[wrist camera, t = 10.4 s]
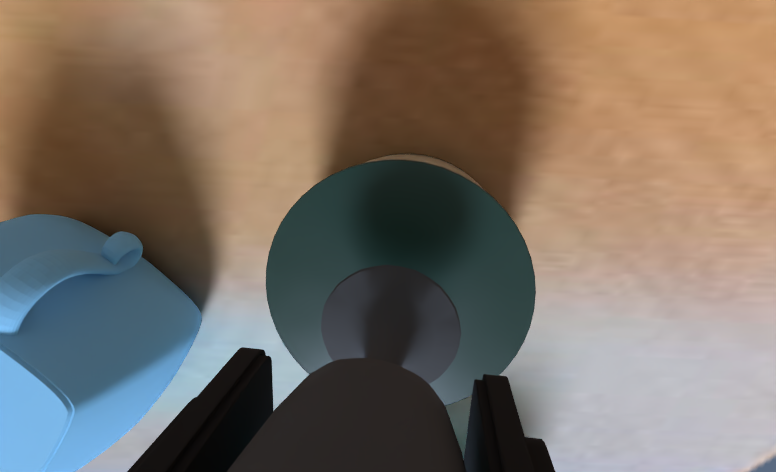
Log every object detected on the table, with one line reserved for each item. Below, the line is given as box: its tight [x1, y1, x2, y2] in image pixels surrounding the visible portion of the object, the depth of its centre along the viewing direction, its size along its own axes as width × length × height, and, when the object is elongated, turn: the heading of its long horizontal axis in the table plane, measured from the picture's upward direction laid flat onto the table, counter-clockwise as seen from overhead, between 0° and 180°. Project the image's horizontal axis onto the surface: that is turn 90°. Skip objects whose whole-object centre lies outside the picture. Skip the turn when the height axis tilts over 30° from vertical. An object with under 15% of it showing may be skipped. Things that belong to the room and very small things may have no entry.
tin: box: [266, 154, 536, 406], centre depth 20 cm, size 11×11×7 cm
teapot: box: [0, 214, 202, 472], centre depth 22 cm, size 12×18×12 cm
